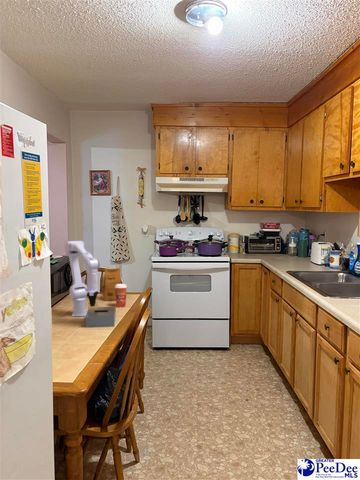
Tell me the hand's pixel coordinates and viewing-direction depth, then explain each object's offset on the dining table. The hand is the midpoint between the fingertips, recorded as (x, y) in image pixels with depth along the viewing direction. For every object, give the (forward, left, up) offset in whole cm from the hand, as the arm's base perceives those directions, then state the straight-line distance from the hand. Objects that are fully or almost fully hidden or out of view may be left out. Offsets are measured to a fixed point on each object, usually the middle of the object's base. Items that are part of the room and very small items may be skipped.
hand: (92, 305), depth 194 cm
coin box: (0, +5, -10) cm, 11 cm away
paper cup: (-31, +15, -10) cm, 36 cm away
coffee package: (-49, +8, -10) cm, 51 cm away
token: (0, 0, -2) cm, 2 cm away
